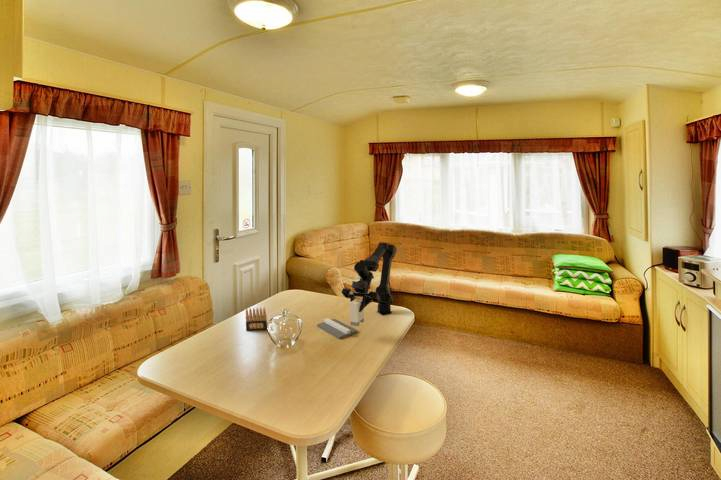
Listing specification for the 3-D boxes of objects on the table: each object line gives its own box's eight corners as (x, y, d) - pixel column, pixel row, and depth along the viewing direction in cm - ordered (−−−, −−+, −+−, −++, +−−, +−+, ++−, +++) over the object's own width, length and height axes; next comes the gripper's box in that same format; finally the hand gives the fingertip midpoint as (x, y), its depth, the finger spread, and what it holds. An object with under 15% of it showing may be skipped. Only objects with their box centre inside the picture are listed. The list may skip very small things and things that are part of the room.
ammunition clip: (268, 328, 178) (266, 306, 176) (267, 330, 176) (265, 307, 174) (247, 329, 177) (245, 307, 175) (246, 331, 175) (244, 308, 173)
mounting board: (317, 326, 178) (316, 321, 178) (334, 320, 185) (334, 315, 184) (339, 339, 163) (339, 333, 162) (357, 332, 170) (357, 327, 169)
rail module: (356, 320, 167) (355, 296, 165) (363, 321, 166) (363, 297, 163) (350, 325, 162) (349, 300, 160) (358, 326, 160) (357, 301, 158)
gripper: (342, 272, 167) (331, 301, 160) (377, 275, 159) (367, 306, 151) (350, 283, 176) (340, 311, 168) (384, 287, 167) (375, 316, 160)
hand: (355, 311), depth 161 cm, fingers closed on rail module, 4 cm apart
